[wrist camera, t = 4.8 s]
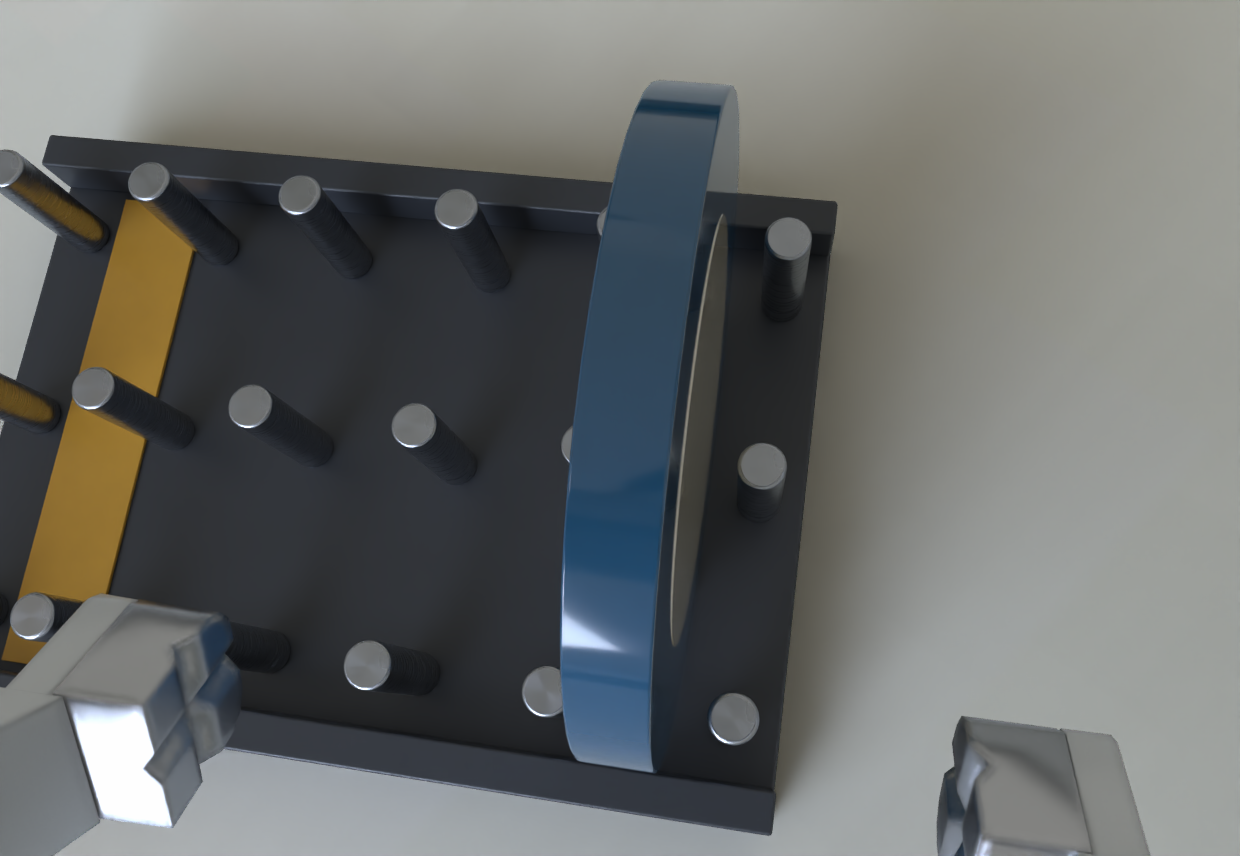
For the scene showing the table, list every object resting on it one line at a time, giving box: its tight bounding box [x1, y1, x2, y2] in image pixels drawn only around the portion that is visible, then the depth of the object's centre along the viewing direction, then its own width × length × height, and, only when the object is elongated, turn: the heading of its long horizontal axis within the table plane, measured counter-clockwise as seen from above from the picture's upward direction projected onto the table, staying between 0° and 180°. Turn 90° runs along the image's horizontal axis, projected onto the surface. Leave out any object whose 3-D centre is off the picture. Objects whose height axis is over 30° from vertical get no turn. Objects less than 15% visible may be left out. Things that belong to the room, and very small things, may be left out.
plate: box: [560, 80, 739, 773], centre depth 19 cm, size 11×1×11 cm, turn 172°
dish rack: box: [0, 135, 837, 836], centre depth 24 cm, size 13×18×4 cm
